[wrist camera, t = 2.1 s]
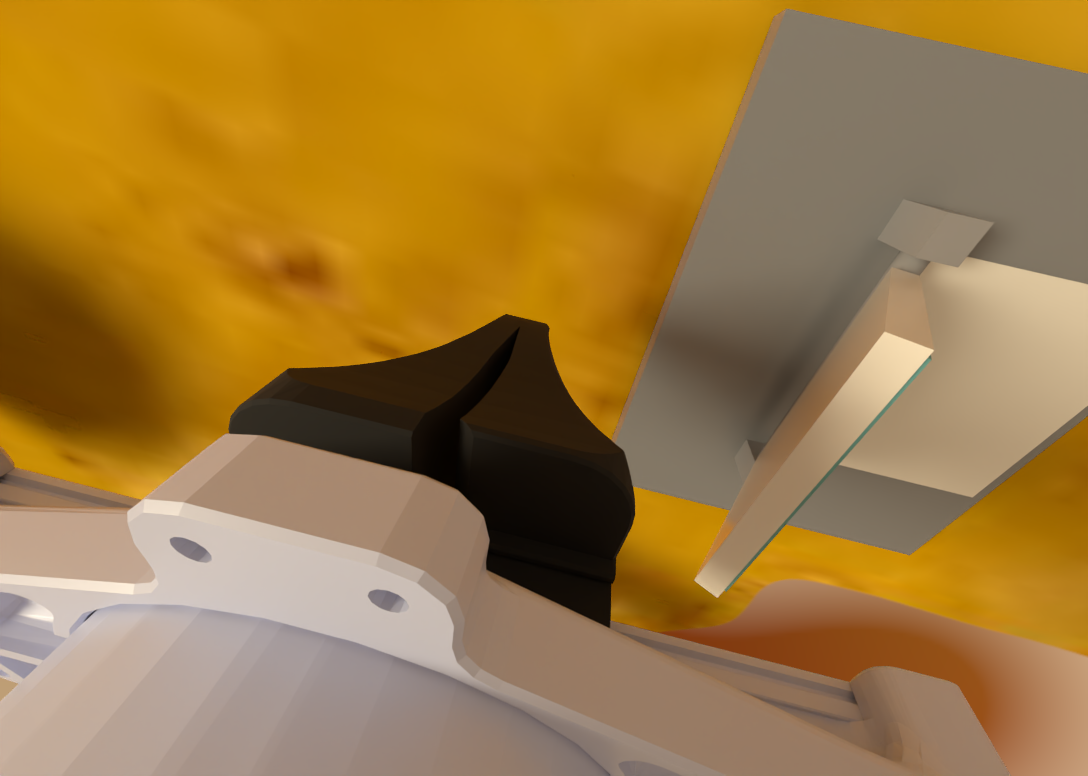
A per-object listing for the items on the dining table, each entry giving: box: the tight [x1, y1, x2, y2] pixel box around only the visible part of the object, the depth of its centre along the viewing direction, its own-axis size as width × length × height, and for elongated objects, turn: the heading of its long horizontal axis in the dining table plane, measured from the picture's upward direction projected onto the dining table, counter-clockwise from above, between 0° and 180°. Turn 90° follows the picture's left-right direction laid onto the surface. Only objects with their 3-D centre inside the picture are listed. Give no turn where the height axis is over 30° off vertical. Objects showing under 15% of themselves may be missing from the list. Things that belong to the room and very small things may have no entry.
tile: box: [694, 267, 934, 598], centre depth 11 cm, size 8×7×1 cm
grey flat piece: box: [611, 9, 1088, 555], centre depth 15 cm, size 18×16×3 cm
